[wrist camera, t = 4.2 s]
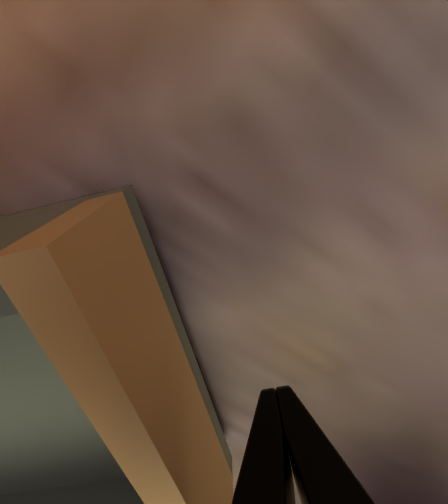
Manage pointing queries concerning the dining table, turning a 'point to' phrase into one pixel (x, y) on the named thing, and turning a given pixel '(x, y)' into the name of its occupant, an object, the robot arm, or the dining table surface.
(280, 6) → the dining table surface
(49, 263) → the low planter box
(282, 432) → the robot arm
